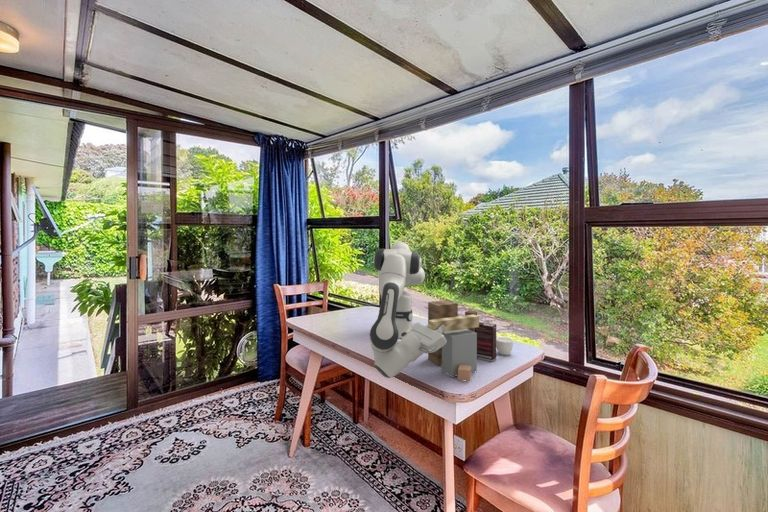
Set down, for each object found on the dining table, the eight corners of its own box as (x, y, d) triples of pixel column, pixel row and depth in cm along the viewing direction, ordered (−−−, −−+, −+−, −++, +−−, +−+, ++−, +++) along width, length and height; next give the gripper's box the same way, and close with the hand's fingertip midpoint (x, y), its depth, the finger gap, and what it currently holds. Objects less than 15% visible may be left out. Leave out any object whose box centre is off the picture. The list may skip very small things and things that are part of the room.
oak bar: (433, 333, 127) (433, 322, 127) (428, 331, 130) (428, 320, 130) (479, 327, 136) (479, 316, 135) (473, 324, 139) (473, 314, 139)
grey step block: (452, 376, 130) (452, 336, 129) (441, 370, 136) (442, 332, 135) (476, 371, 134) (476, 333, 133) (465, 365, 141) (465, 328, 140)
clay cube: (457, 380, 127) (457, 368, 126) (459, 375, 131) (459, 364, 131) (469, 382, 125) (469, 370, 125) (471, 377, 129) (471, 366, 129)
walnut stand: (437, 365, 140) (438, 305, 139) (428, 359, 148) (428, 302, 146) (457, 362, 144) (457, 303, 143) (446, 355, 152) (447, 300, 150)
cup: (494, 355, 153) (494, 340, 152) (497, 348, 161) (497, 334, 161) (511, 357, 149) (512, 343, 149) (514, 350, 158) (514, 337, 157)
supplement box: (496, 359, 148) (497, 324, 147) (492, 362, 144) (493, 326, 143) (478, 354, 153) (478, 321, 152) (473, 357, 149) (474, 323, 148)
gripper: (424, 347, 115) (452, 324, 120) (398, 332, 134) (423, 312, 138) (431, 361, 117) (459, 337, 121) (405, 344, 136) (430, 324, 140)
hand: (440, 324), depth 130 cm, fingers closed on oak bar, 3 cm apart
